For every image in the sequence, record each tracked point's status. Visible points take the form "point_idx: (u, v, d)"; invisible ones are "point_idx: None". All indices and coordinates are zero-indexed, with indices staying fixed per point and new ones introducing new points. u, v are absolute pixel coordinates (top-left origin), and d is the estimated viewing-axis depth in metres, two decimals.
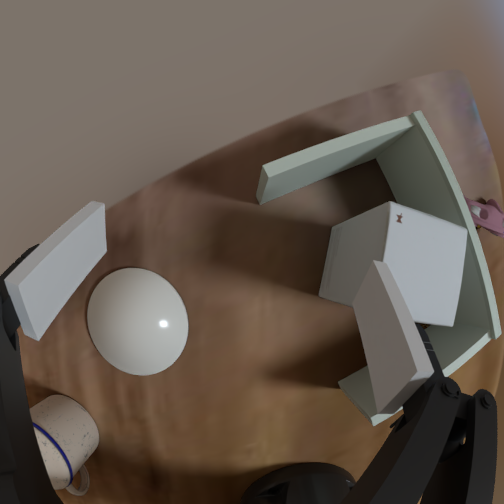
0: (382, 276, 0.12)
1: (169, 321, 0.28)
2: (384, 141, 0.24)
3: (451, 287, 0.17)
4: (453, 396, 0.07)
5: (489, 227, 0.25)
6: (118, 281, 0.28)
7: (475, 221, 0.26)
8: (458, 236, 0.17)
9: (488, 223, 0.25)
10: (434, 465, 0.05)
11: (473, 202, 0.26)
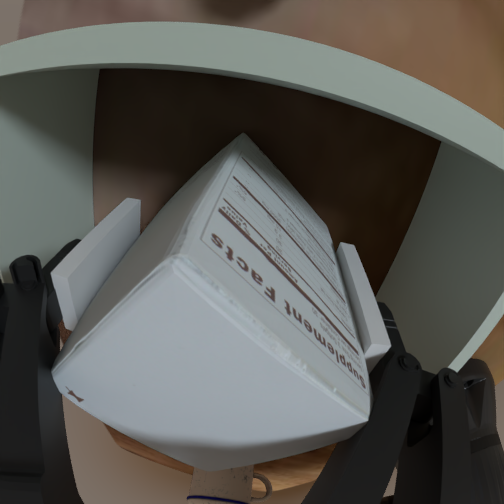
0: (347, 256, 0.13)
1: None
2: (17, 131, 0.09)
3: (296, 413, 0.06)
4: (413, 371, 0.08)
5: None
6: None
7: None
8: (171, 320, 0.05)
9: None
10: (400, 443, 0.06)
11: None
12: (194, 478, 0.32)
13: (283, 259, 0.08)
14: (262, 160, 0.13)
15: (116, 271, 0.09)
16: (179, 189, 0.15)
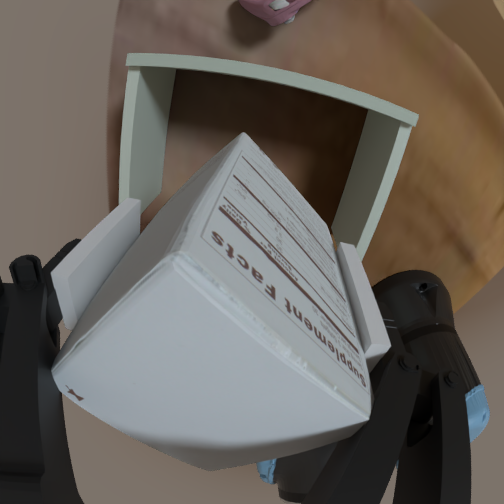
0: (347, 256, 0.13)
1: None
2: (147, 94, 0.21)
3: (296, 411, 0.06)
4: (413, 370, 0.08)
5: None
6: None
7: (288, 12, 0.19)
8: (171, 318, 0.05)
9: None
10: (400, 443, 0.06)
11: None
12: None
13: (284, 257, 0.08)
14: (262, 159, 0.13)
15: (116, 270, 0.09)
16: None
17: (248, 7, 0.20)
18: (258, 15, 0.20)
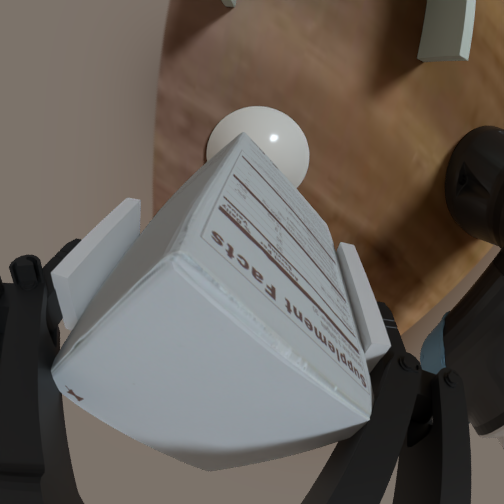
0: (347, 256, 0.13)
1: (275, 128, 0.29)
2: None
3: (297, 412, 0.06)
4: (413, 370, 0.08)
5: None
6: (216, 146, 0.31)
7: None
8: (171, 318, 0.05)
9: None
10: (400, 443, 0.06)
11: None
12: None
13: (283, 257, 0.08)
14: (262, 159, 0.13)
15: (116, 270, 0.09)
16: None
17: None
18: None
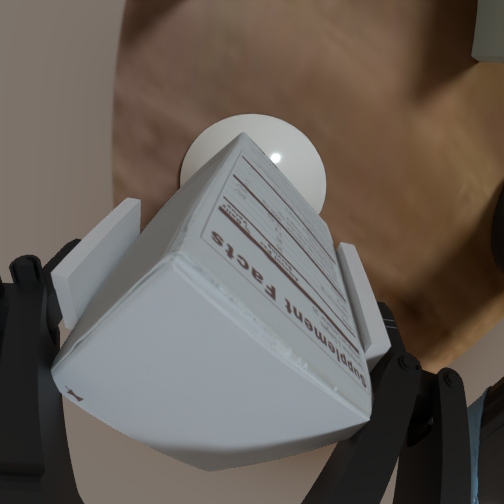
0: (347, 256, 0.13)
1: (278, 146, 0.20)
2: None
3: (297, 412, 0.06)
4: (413, 370, 0.08)
5: None
6: (194, 173, 0.22)
7: None
8: (171, 319, 0.05)
9: None
10: (400, 443, 0.06)
11: None
12: None
13: (284, 257, 0.08)
14: (262, 159, 0.13)
15: (116, 270, 0.09)
16: None
17: None
18: None
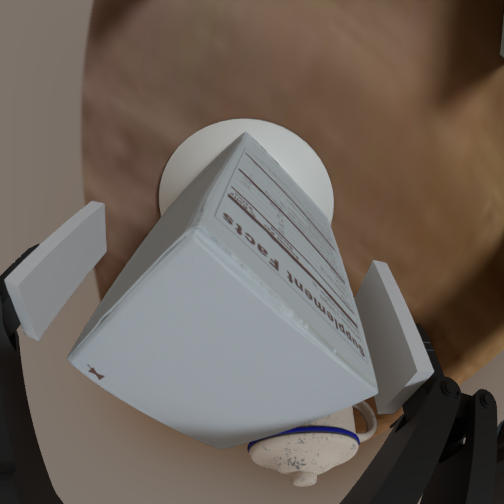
0: (382, 276, 0.12)
1: (276, 159, 0.17)
2: None
3: (301, 375, 0.07)
4: (453, 396, 0.07)
5: None
6: (175, 191, 0.18)
7: None
8: (190, 285, 0.06)
9: None
10: (434, 465, 0.05)
11: None
12: None
13: (285, 239, 0.09)
14: (264, 156, 0.14)
15: (134, 257, 0.10)
16: None
17: None
18: None
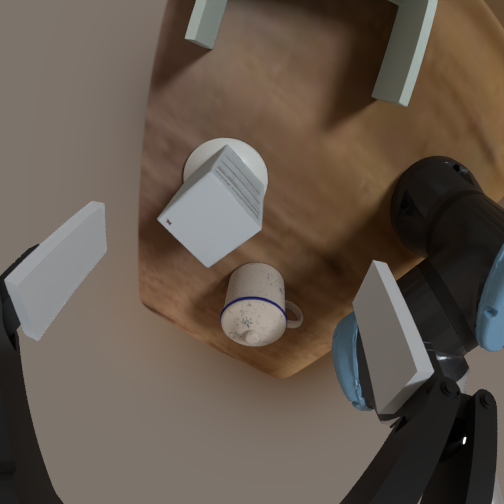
0: (382, 276, 0.12)
1: (240, 157, 0.36)
2: None
3: (234, 215, 0.27)
4: (453, 396, 0.07)
5: None
6: (192, 170, 0.38)
7: None
8: (207, 185, 0.26)
9: None
10: (434, 465, 0.05)
11: None
12: (230, 291, 0.42)
13: (234, 181, 0.28)
14: (233, 155, 0.34)
15: (183, 188, 0.29)
16: (199, 167, 0.36)
17: None
18: None
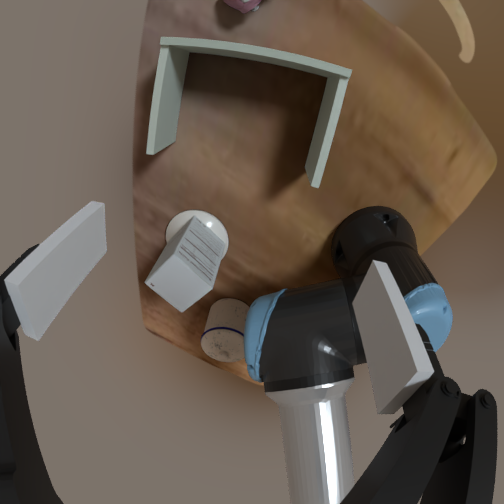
0: (382, 276, 0.12)
1: (205, 224, 0.49)
2: (171, 65, 0.31)
3: (193, 280, 0.40)
4: (453, 396, 0.07)
5: None
6: (171, 234, 0.51)
7: (253, 3, 0.28)
8: (173, 262, 0.38)
9: None
10: (434, 465, 0.05)
11: None
12: (207, 322, 0.54)
13: (193, 254, 0.41)
14: (198, 226, 0.47)
15: (161, 258, 0.42)
16: None
17: (228, 2, 0.29)
18: (234, 7, 0.29)
